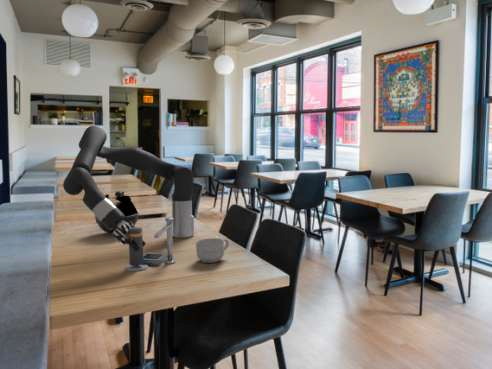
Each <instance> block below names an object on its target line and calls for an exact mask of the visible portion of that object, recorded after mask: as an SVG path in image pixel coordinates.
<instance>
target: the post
mask: <svg viewBox="0 0 492 369" xmlns="http://www.w3.org/2000/svg"><path fill="white" fill-rule="evenodd" d="M172 231H173V225H172V221H170V228H168V229H167V230H166V243H167V245H166V248H167V251H166V252H167V257H168V259H167V260H165V261H164V263H165V265H166V264H168V265H172V264H175V263H176V259H174V255H173V254H174V249H173V248H174V247H173V246H174V244H173V242H174V241H173V232H172Z"/></svg>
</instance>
